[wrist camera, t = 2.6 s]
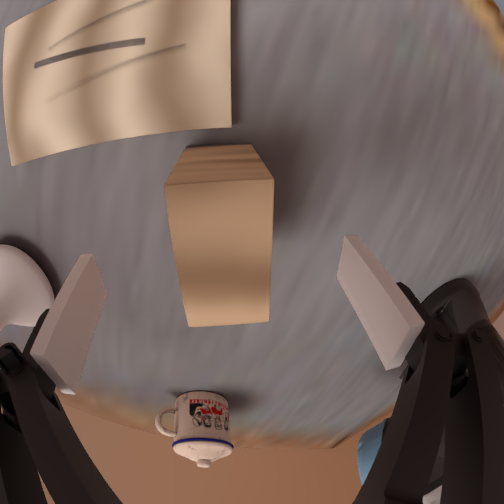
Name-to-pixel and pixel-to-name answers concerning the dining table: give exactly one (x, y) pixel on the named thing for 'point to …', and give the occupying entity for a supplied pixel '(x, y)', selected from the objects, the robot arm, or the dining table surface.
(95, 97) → the board
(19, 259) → the flower in vase
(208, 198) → the block
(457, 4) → the dining table surface
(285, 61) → the dining table surface
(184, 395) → the teacup with lid
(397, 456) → the robot arm
